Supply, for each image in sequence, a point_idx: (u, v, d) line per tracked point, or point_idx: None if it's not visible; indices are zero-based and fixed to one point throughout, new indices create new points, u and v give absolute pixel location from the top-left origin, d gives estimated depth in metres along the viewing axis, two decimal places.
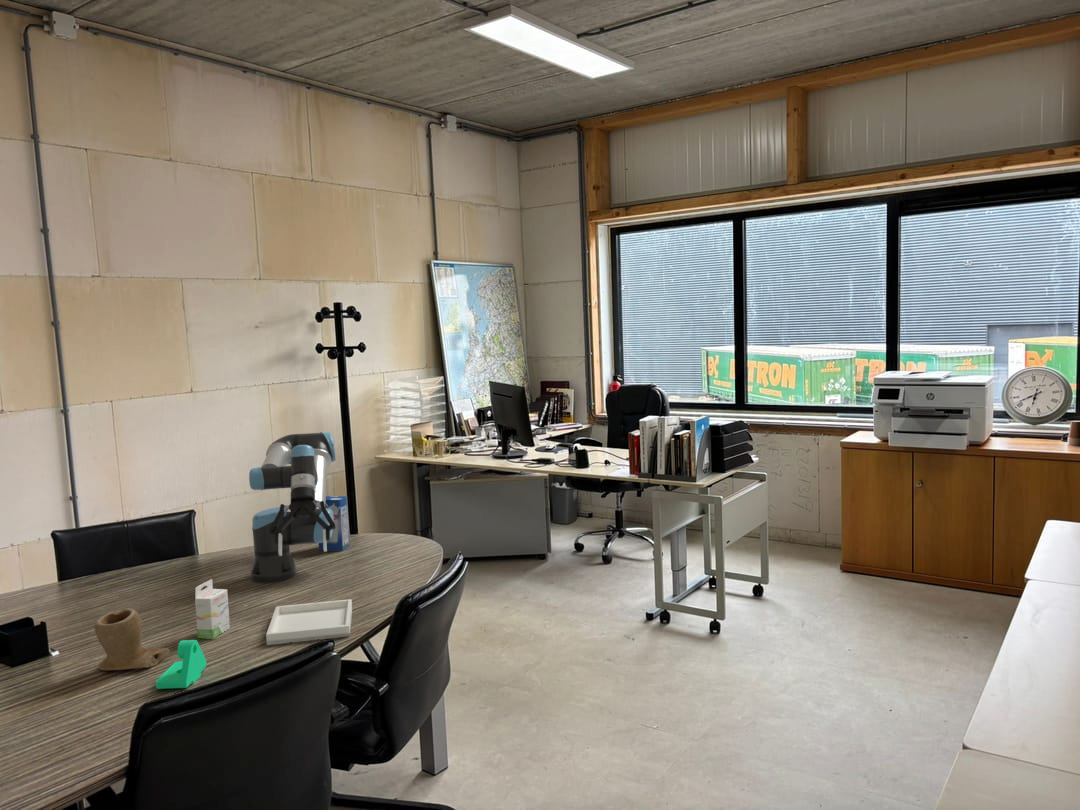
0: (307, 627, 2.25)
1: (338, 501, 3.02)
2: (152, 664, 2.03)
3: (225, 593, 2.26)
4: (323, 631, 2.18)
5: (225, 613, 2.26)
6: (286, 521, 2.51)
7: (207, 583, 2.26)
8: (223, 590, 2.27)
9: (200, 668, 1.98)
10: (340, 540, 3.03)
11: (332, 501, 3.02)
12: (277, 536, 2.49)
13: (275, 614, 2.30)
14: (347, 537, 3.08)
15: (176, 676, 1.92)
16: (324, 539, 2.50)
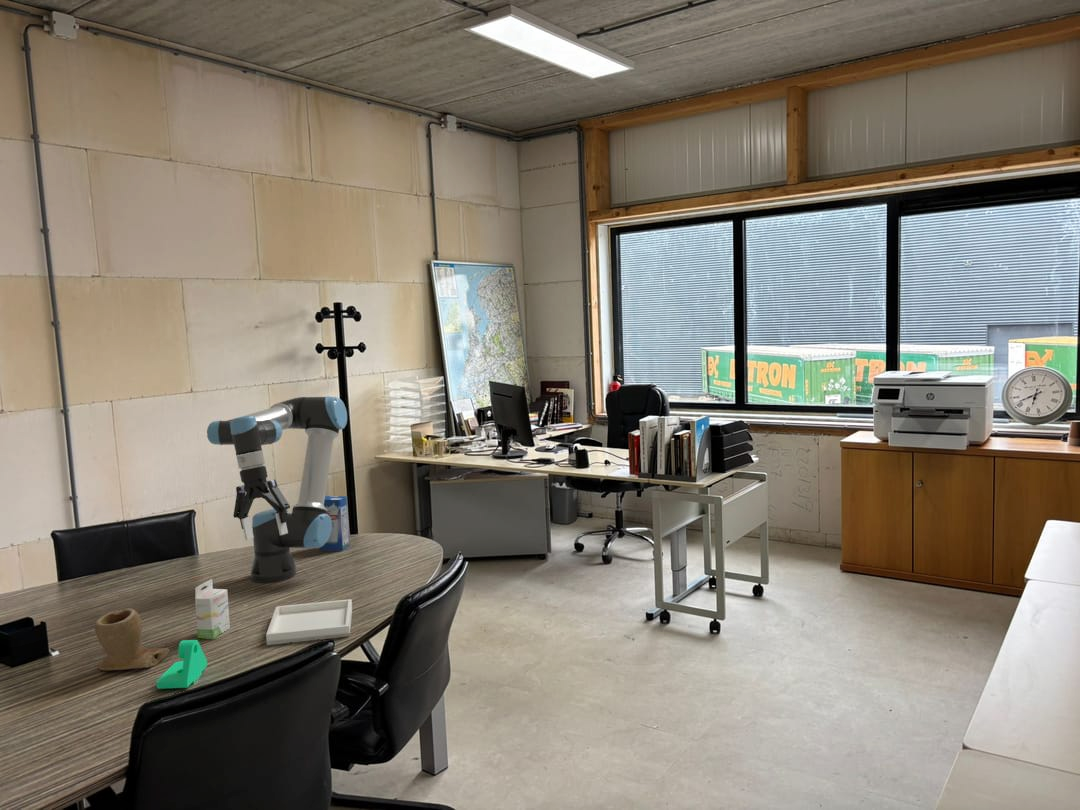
0: (307, 627, 2.25)
1: (338, 501, 3.02)
2: (152, 664, 2.03)
3: (225, 593, 2.26)
4: (323, 631, 2.18)
5: (225, 613, 2.26)
6: (244, 505, 2.38)
7: (207, 583, 2.26)
8: (223, 590, 2.27)
9: (201, 668, 1.98)
10: (340, 540, 3.03)
11: (332, 501, 3.02)
12: None
13: (275, 614, 2.30)
14: (347, 537, 3.08)
15: (176, 676, 1.92)
16: (278, 525, 2.33)
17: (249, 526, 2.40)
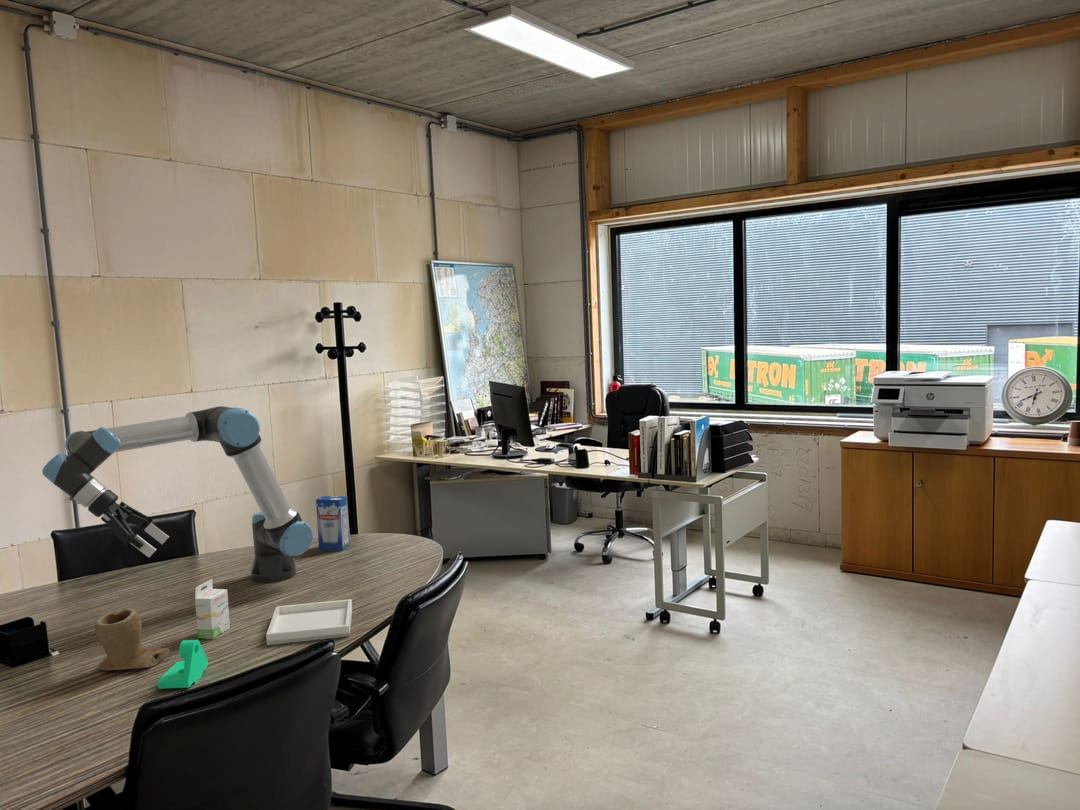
0: (307, 627, 2.25)
1: (338, 501, 3.02)
2: (152, 664, 2.03)
3: (225, 593, 2.26)
4: (323, 631, 2.18)
5: (225, 613, 2.26)
6: None
7: (207, 583, 2.26)
8: (223, 590, 2.27)
9: (202, 668, 1.98)
10: (340, 540, 3.03)
11: (332, 501, 3.02)
12: None
13: (275, 614, 2.30)
14: (347, 537, 3.08)
15: (177, 675, 1.92)
16: None
17: (156, 531, 2.29)
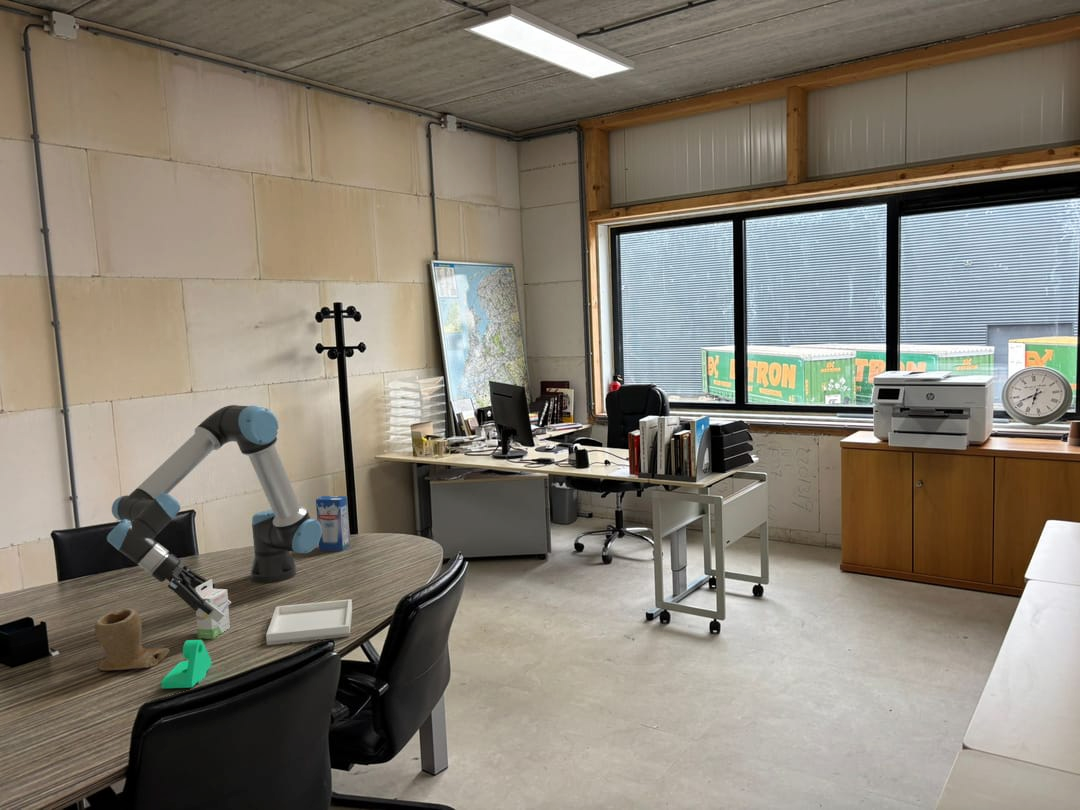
0: (307, 627, 2.25)
1: (338, 501, 3.02)
2: (152, 664, 2.03)
3: (225, 593, 2.26)
4: (323, 631, 2.18)
5: (225, 613, 2.26)
6: None
7: (207, 583, 2.25)
8: (223, 590, 2.27)
9: (205, 668, 1.98)
10: (340, 540, 3.03)
11: (332, 501, 3.02)
12: None
13: (275, 614, 2.30)
14: (347, 537, 3.08)
15: (181, 675, 1.92)
16: None
17: None
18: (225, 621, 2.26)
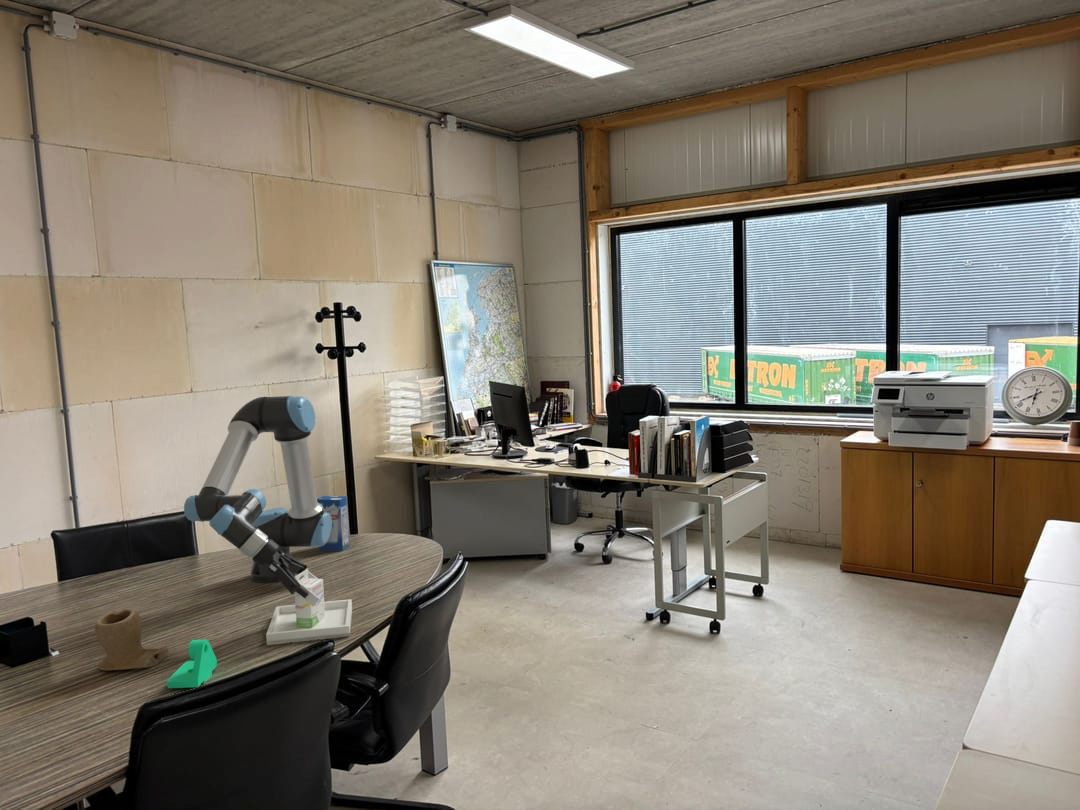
0: None
1: (338, 501, 3.02)
2: (152, 664, 2.03)
3: (321, 582, 2.30)
4: (323, 631, 2.18)
5: (321, 602, 2.30)
6: None
7: (304, 573, 2.29)
8: (319, 579, 2.30)
9: (211, 668, 1.98)
10: (340, 540, 3.03)
11: (332, 501, 3.02)
12: None
13: (275, 614, 2.30)
14: (347, 537, 3.08)
15: (187, 675, 1.92)
16: None
17: (311, 577, 2.33)
18: (321, 610, 2.30)
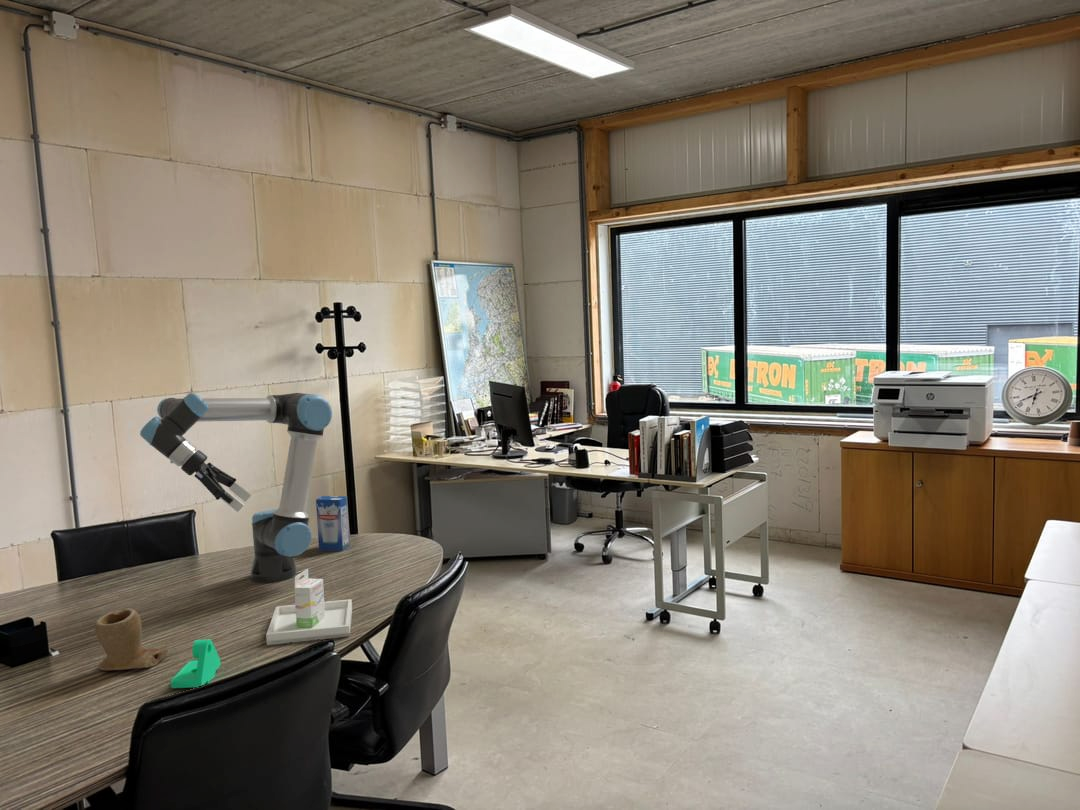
0: None
1: (338, 501, 3.02)
2: (152, 664, 2.03)
3: (321, 582, 2.30)
4: (323, 631, 2.18)
5: (321, 602, 2.30)
6: None
7: (304, 573, 2.29)
8: (319, 579, 2.30)
9: (214, 667, 1.98)
10: (340, 540, 3.03)
11: (332, 501, 3.02)
12: None
13: (275, 614, 2.30)
14: (347, 537, 3.08)
15: (190, 675, 1.93)
16: None
17: (239, 490, 2.48)
18: (321, 610, 2.30)
